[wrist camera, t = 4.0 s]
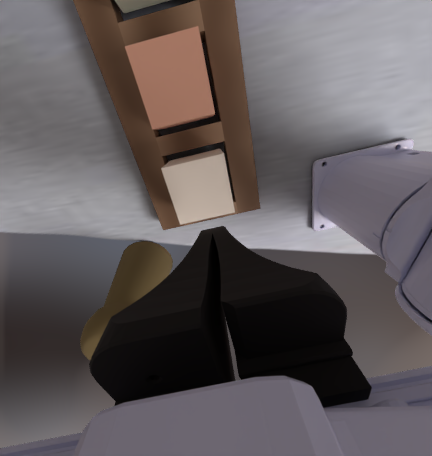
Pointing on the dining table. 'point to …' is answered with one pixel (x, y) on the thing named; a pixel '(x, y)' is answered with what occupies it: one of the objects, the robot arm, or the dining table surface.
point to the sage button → (136, 4)
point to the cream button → (199, 186)
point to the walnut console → (134, 107)
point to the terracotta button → (172, 78)
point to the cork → (128, 287)
